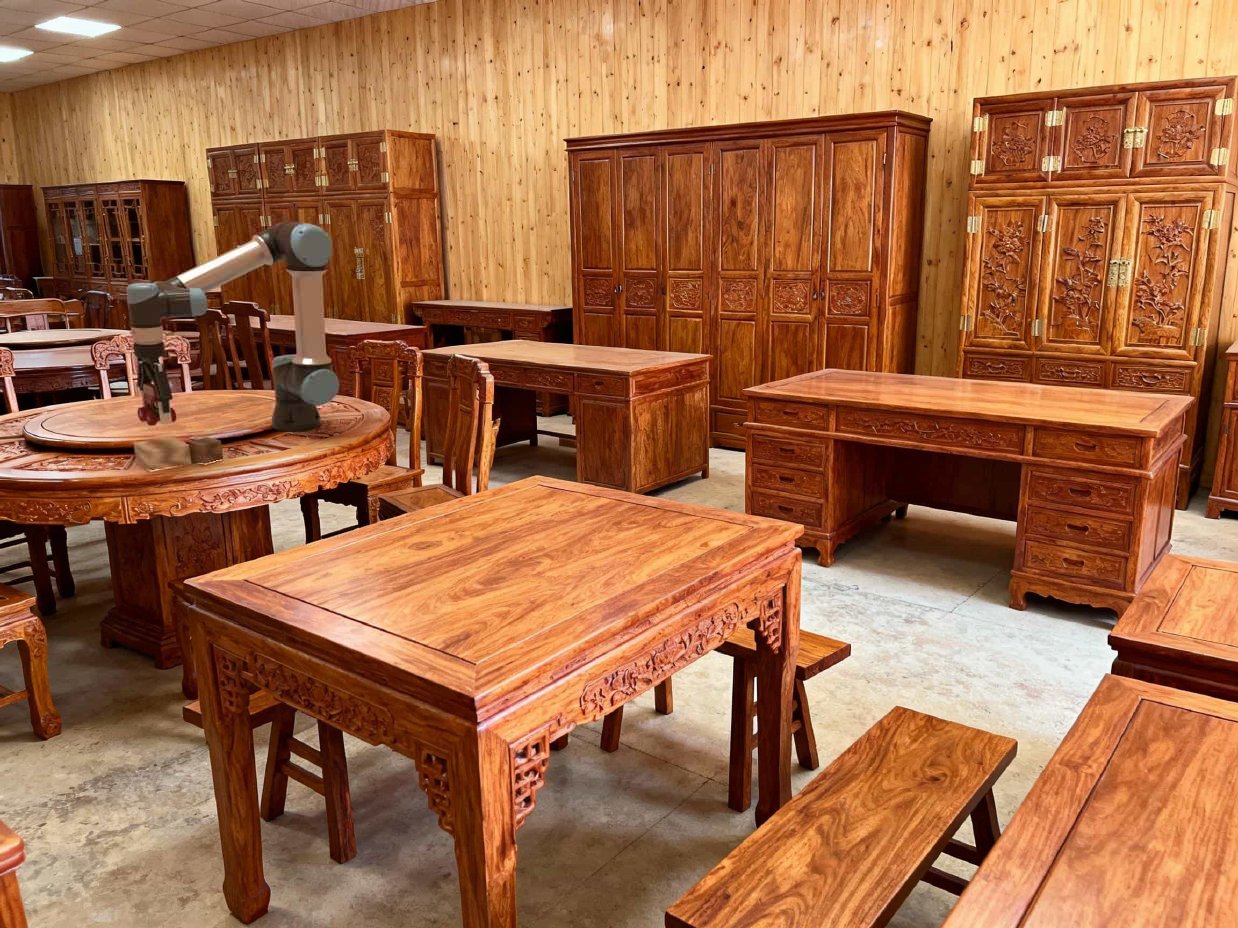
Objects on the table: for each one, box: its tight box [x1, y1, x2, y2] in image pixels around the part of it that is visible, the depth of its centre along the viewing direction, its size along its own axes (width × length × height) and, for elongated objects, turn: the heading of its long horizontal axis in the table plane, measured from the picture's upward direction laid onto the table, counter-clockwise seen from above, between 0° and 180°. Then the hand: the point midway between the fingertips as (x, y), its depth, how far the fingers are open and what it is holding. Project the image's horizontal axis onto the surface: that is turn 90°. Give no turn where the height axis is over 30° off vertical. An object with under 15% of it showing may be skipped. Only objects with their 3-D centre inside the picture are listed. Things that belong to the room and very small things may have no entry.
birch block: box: [133, 435, 192, 470], centre depth 258 cm, size 11×11×6 cm
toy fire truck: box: [137, 382, 177, 427], centre depth 253 cm, size 7×12×10 cm, turn 48°
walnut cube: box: [188, 436, 224, 464], centre depth 261 cm, size 6×6×6 cm
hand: (157, 418), depth 254 cm, fingers closed on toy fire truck, 12 cm apart
